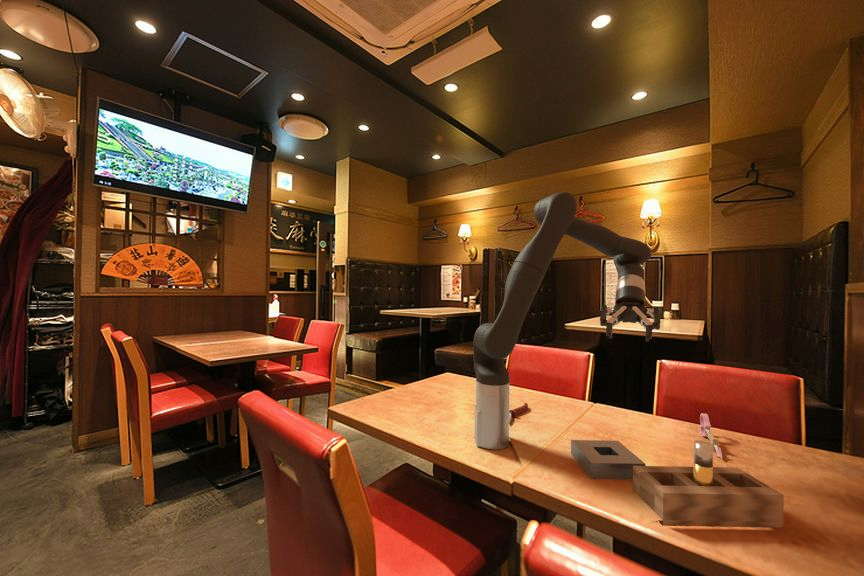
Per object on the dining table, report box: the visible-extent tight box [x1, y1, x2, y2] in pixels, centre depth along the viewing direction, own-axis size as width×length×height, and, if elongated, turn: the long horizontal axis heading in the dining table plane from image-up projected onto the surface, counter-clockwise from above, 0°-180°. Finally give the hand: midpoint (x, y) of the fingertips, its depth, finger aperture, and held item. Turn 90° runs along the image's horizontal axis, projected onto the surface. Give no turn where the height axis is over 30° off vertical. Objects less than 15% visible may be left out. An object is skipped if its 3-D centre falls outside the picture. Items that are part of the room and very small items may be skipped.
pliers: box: [509, 402, 529, 424], centre depth 122 cm, size 12×20×3 cm, turn 160°
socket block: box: [570, 439, 647, 481], centre depth 86 cm, size 12×12×4 cm
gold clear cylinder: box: [693, 440, 714, 486], centre depth 71 cm, size 3×3×12 cm
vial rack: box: [632, 465, 785, 529], centre depth 71 cm, size 22×10×6 cm, turn 90°
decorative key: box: [699, 412, 723, 460], centre depth 99 cm, size 7×1×20 cm
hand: (628, 338), depth 93 cm, fingers open, 8 cm apart
